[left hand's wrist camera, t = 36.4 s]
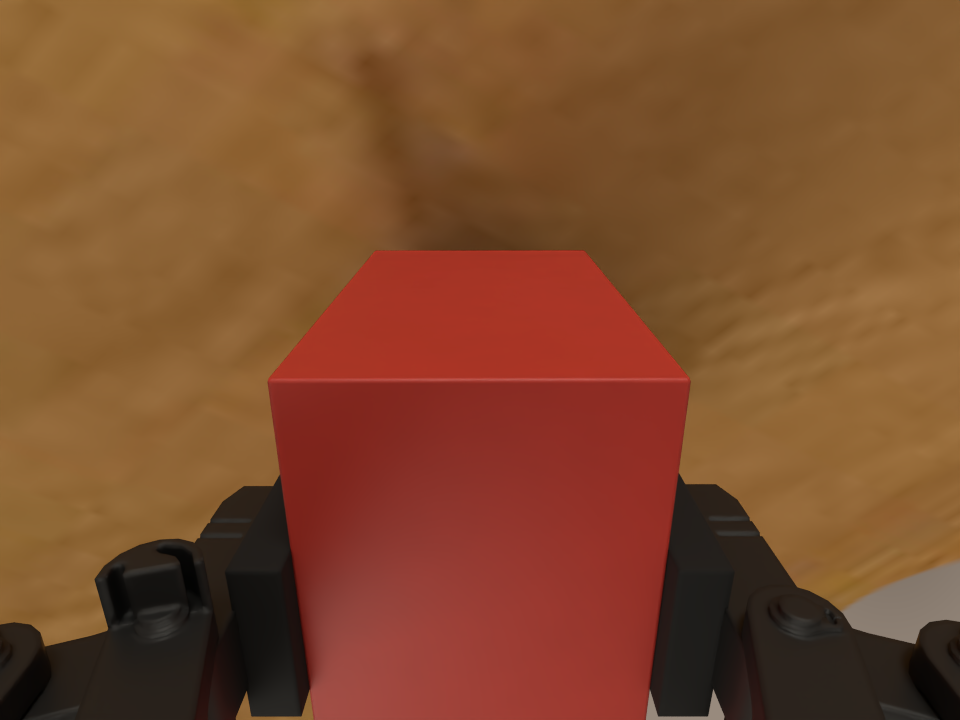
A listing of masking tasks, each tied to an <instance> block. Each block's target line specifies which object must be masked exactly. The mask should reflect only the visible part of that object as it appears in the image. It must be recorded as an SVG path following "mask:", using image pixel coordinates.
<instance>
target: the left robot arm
mask: <svg viewBox="0 0 960 720" xmlns="http://www.w3.org/2000/svg"><path fill="white" fill-rule="evenodd" d="M95 583H96V586H97V590H98V593H99V597H100V600H101V604H102V608H103V611H104V615H105V618H106V622H107V625H108V631H106V632H102V633H99V634H96V635H93V636H89V637H84V638H80V639H76V640H71V641H67V642H63V643H59V644H54V645H50V646H46V647H45V646H44V643H43V640H42V637H41V634H40V632H39V631H38V630H37V629H35V628H34V627H33V626H32V625H29V624H22V623H15V622H14V623H7V624H1V625H0V720H236V715H237V713H238V710H239V708H240V706H241V703H242V701H243V698H244V696H245V693H246V691H247V694H248V700H249V705H250V710H251V716H302V713H303V709H304V706H305V703H306V699H307V696H308V693H309V689H310V687H309V680H308V673H307V665H306V658H305V651H304V643H303V636H302V629H301V621H300V614H299V607H298V599H297V592H296V585H295V577H294V570H293V563H292V556H291V548H290V542H289V534H288V527H287V520H286V512H285V505H284V498H283V491H282V483H281V476H280V475H279V477H278V479H277V481H276V482H275V484H274V486H244V487H242V488H241V489H239V490H238V491H237V492H235V493H234V494H233V495H231V496H230V497H228V498H227V499H226V500H224V501H223V502H222V503H221V505H220V506H219V508H218V509H217V511H216V512H215V514H214V515H213V517H212V518H211V522H210V523H208V524H207V526H206V527H205V528H204V530H203V531H202V533H201V534H200V538H198V539H197V540H196V542H195V543H193V542H190V541H186V540H182V539H163V540H157V541H153V542H149V543H145V544H141V545H138V546H136V547H134V548H132V549H130V550H128V551H126V552H123V553H121V554H120V555H118V556H117V557H116V558H114V559H113V560H112V561H110V562H109V563H108V564H106V565H105V566H104V567H103V568H102V570H101V571H100V572H99V574H98V575H97V577H96V578H95ZM713 689H714V691H715V694H716V696H717V699H718V701H719V704H720V706H721V708H722V711H723V713H724V716H725V718H724V720H960V622H957V621H950V620H942V621H934V622H929V623H928V624H927V625H926V626H924V627H923V628H922V629H921V630H920V632H919V635H918V638H917V641H916V644H912V643H907V642H904V641H899V640H895V639H891V638H886V637H882V636H878V635H873V634H869V633H866V632H862V631H859V630H856V629H853V628H852V627H851V626H850V624H849V623H848V621H847V619H846V618H845V616H844V615H843V613H842V612H840V611H839V610H838V609H837V608H836V607H835V606H833V605H832V604H831V603H830V602H829V601H827V600H825V599H824V598H822V597H820V596H818V595H816V594H814V593H812V592H810V591H808V590H804V589H801V588H797V586H796V585H795V583H794V582H793V581H792V579H791V578H790V576H789V575H788V573H787V572H786V570H785V569H784V567H783V566H782V564H781V563H780V562H779V560H778V559H777V557H776V556H775V554H774V553H773V551H772V550H771V548H770V547H769V545H768V544H767V543H766V541H765V540H764V538H763V537H762V536H760V532H759V531H758V529H757V528H756V526H755V525H754V524H753V522H752V521H750V520H749V516H748V515H747V513H746V512H745V510H744V509H743V507H742V506H741V505H740V503H739V502H738V500H737V499H735V498H734V497H733V496H731V495H730V494H729V493H727V492H726V491H724V490H723V489H722V488H720V487H719V486H718V485H716V484H685V483H684V481H683V480H682V478H681V476H680V474H679V473H678V480H677V488H676V495H675V503H674V510H673V518H672V525H671V533H670V540H669V548H668V555H667V563H666V570H665V578H664V585H663V593H662V600H661V608H660V615H659V623H658V630H657V638H656V645H655V653H654V660H653V668H652V675H651V683H650V691H651V694H652V697H653V701H654V704H655V707H656V711H657V714H658V716H708V714H709V708H710V703H711V697H712V692H713Z"/></svg>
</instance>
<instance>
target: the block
mask: <svg viewBox="0 0 960 720" xmlns="http://www.w3.org/2000/svg"><path fill="white" fill-rule="evenodd" d="M690 382H691V381H690V378H689V377H688V376H687V374H686V373H685V372H684V371H683V370H682V368H681V367H680V366H679V365H678V364H677V362H676V361H675V360H674V359H673V357H672V356H671V355H670V354H669V353H668V351H667V350H666V349H665V348H664V347H663V345H662V344H661V343H660V342H659V341H658V339H657V338H656V337H655V336H654V334H653V333H652V332H651V331H650V330H649V328H648V327H647V326H646V325H645V324H644V322H643V321H642V320H641V319H640V317H639V316H638V315H637V314H636V313H635V311H634V310H633V309H632V308H631V307H630V305H629V304H628V303H627V302H626V300H625V299H624V298H623V297H622V296H621V294H620V293H619V292H618V291H617V290H616V288H615V287H614V286H613V285H612V284H611V282H610V281H609V280H608V279H607V277H606V276H605V275H604V274H603V273H602V271H601V270H600V269H599V268H598V267H597V265H596V264H595V263H594V262H593V260H592V259H591V258H590V257H589V256H588V254H587V253H586V252H585V251H583V250H530V251H375V252H374V253H373V254H372V255H371V256H370V258H369V259H368V260H367V261H366V262H365V264H364V265H363V266H362V267H361V268H360V270H359V271H358V272H357V273H356V274H355V276H354V277H353V278H352V279H351V280H350V282H349V283H348V284H347V285H346V286H345V288H344V289H343V290H342V291H341V292H340V294H339V295H338V296H337V297H336V298H335V300H334V301H333V302H332V303H331V304H330V306H329V307H328V308H327V309H326V310H325V312H324V313H323V314H322V315H321V316H320V318H319V319H318V320H317V321H316V322H315V324H314V325H313V326H312V327H311V328H310V330H309V331H308V332H307V333H306V334H305V336H304V337H303V338H302V339H301V340H300V342H299V343H298V344H297V345H296V346H295V348H294V349H293V350H292V351H291V352H290V354H289V355H288V356H287V357H286V358H285V360H284V361H283V362H282V363H281V364H280V366H279V367H278V368H277V369H276V370H275V372H274V373H273V374H272V375H271V376H270V378H269V379H268V388H269V396H270V403H271V410H272V417H273V425H274V432H275V439H276V447H277V454H278V461H279V469H280V476H281V483H282V491H283V498H284V505H285V512H286V520H287V527H288V534H289V542H290V548H291V556H292V563H293V570H294V577H295V585H296V592H297V599H298V607H299V614H300V621H301V629H302V636H303V643H304V651H305V658H306V665H307V673H308V680H309V687H310V695H311V702H312V710H313V717H314V720H646V713H647V706H648V698H649V691H650V683H651V675H652V668H653V660H654V653H655V645H656V638H657V630H658V623H659V615H660V608H661V600H662V593H663V585H664V578H665V570H666V563H667V555H668V548H669V540H670V533H671V525H672V518H673V510H674V503H675V495H676V488H677V480H678V473H679V465H680V458H681V450H682V443H683V435H684V428H685V420H686V413H687V405H688V397H689V390H690Z"/></svg>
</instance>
